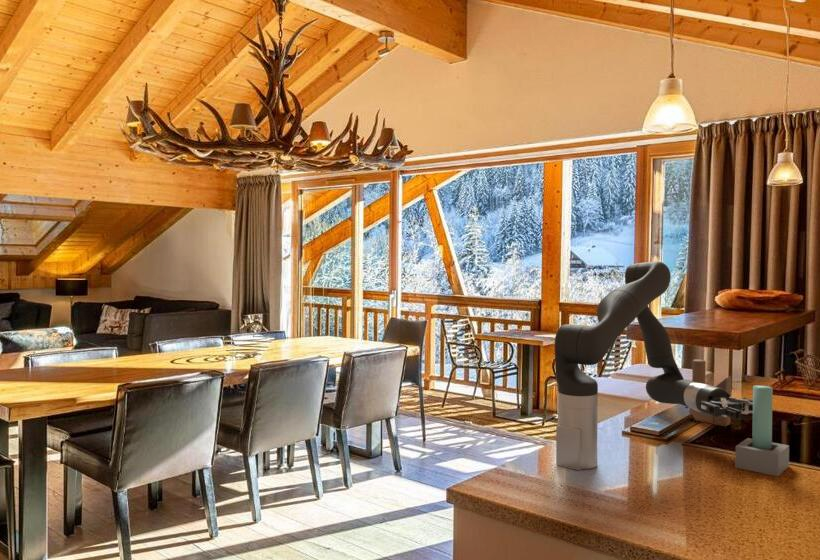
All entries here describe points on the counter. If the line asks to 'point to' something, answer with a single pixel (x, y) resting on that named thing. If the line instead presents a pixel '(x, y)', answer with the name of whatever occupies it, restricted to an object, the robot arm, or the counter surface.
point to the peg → (762, 417)
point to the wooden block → (699, 377)
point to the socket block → (762, 458)
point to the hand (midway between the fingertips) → (755, 414)
